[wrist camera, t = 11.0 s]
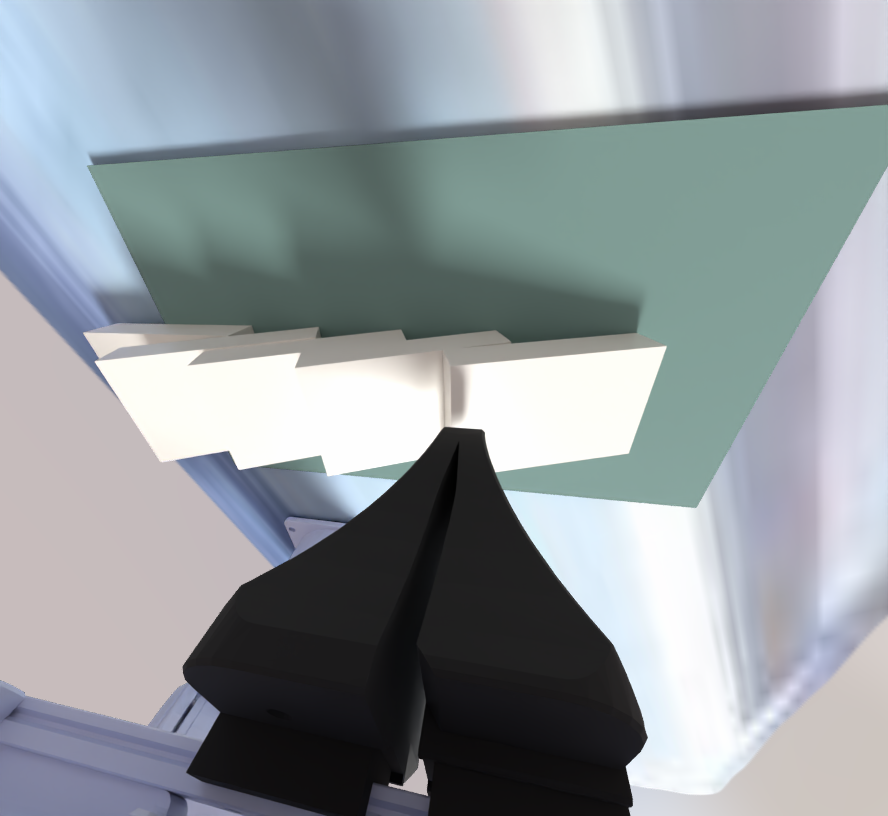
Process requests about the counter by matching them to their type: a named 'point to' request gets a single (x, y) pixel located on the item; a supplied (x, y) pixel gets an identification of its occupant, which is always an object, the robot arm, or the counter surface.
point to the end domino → (155, 334)
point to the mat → (530, 256)
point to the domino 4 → (552, 396)
